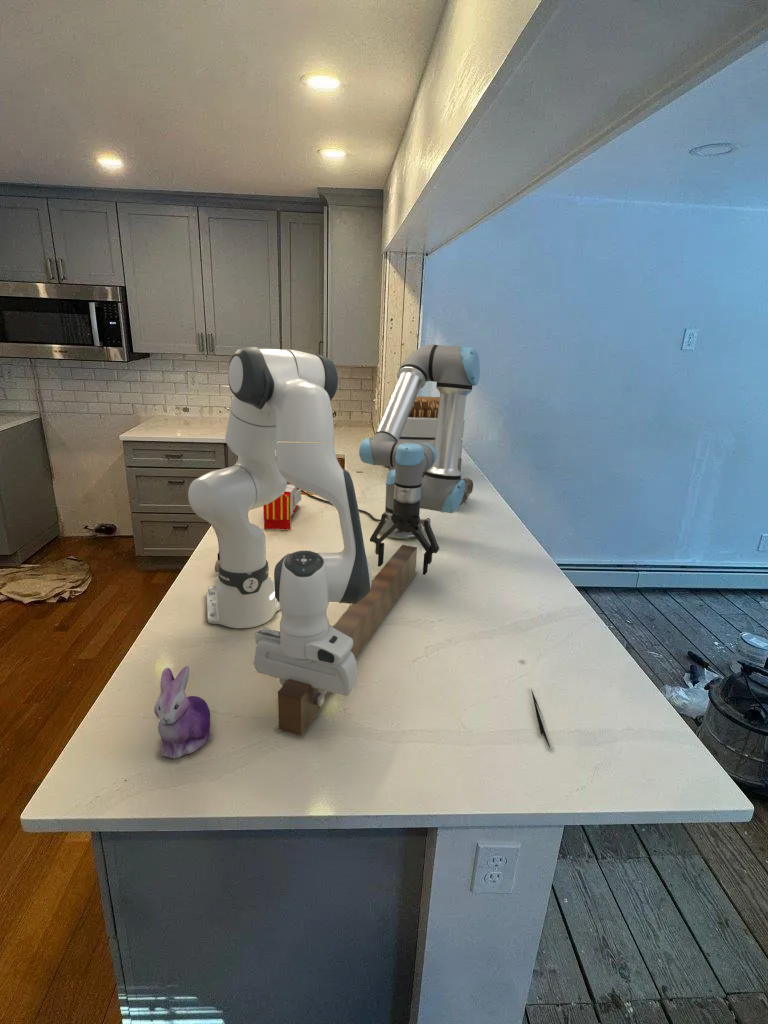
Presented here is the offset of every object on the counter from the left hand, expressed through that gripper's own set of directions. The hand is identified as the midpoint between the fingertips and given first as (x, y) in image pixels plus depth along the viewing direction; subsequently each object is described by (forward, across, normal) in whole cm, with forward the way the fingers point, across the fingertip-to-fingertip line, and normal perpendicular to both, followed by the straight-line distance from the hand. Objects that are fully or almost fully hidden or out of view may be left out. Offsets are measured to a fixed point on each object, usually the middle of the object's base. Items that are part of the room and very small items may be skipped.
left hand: (304, 699), depth 109 cm
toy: (+3, -57, +94) cm, 110 cm away
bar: (+3, 0, +31) cm, 32 cm away
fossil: (+3, -1, +139) cm, 139 cm away
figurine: (+3, -16, -15) cm, 22 cm away
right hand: (0, 0, +62) cm, 62 cm away
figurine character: (+3, -48, +48) cm, 68 cm away
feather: (+3, +42, +21) cm, 47 cm away
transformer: (+3, -27, +176) cm, 178 cm away
